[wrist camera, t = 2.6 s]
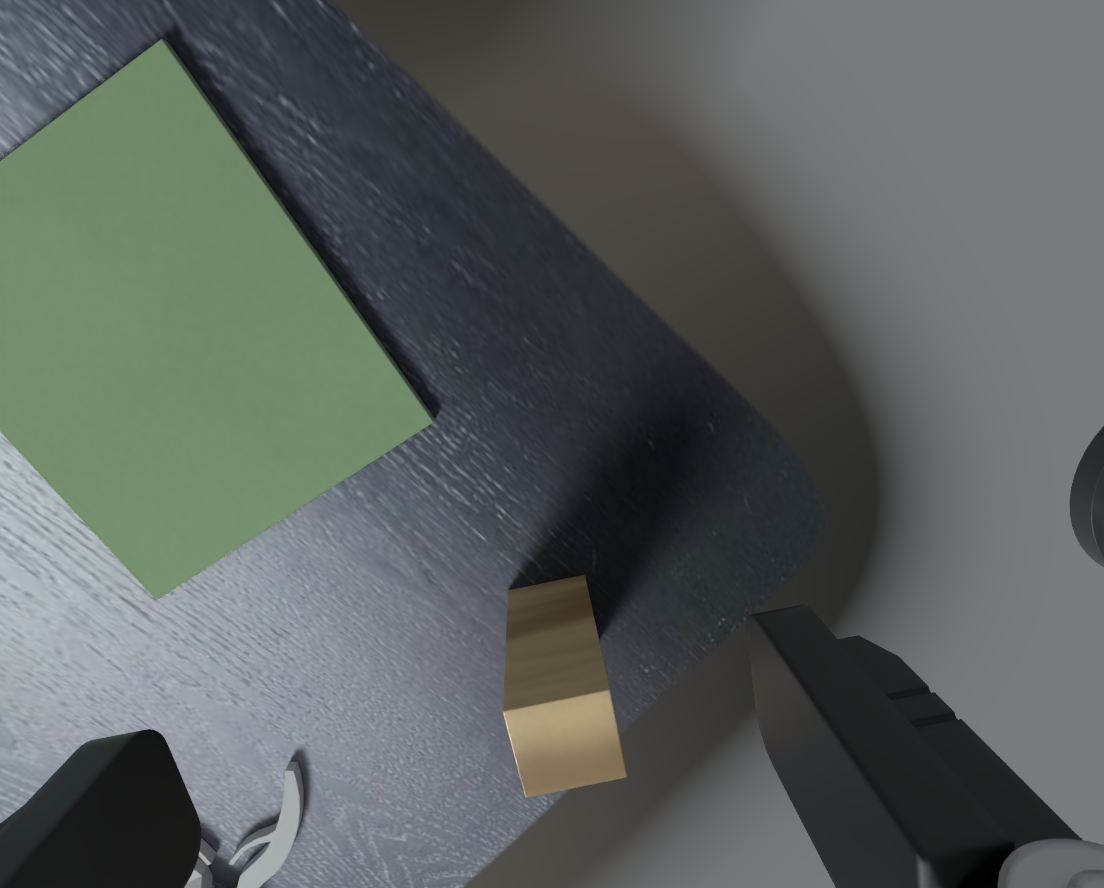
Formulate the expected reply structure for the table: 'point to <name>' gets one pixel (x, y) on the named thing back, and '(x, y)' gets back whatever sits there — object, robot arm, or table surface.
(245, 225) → the mat
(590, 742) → the block
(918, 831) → the robot arm
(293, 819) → the pliers
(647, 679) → the table surface
